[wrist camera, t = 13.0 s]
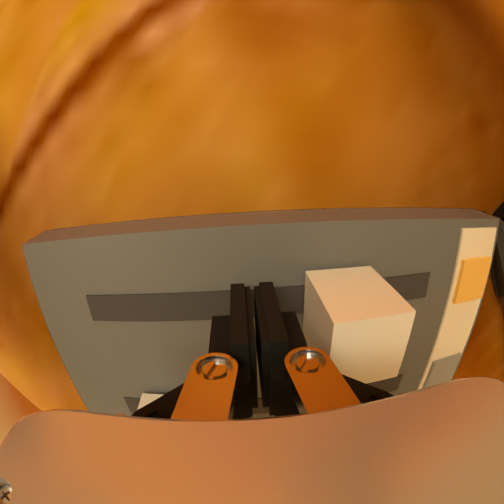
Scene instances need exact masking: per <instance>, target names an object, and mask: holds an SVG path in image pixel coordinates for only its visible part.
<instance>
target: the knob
mask: <svg viewBox="0 0 504 504" xmlns="http://www.w3.org/2000/svg"><path fill="white" fill-rule="evenodd" d="M415 314H416V310H415V309H414V308H413V307H412V306H411V305H410V304H409V303H408V302H407V301H406V300H405V299H404V298H403V297H402V296H401V295H400V294H399V293H398V292H397V291H396V290H395V289H394V288H393V287H392V286H391V285H390V284H389V283H388V282H387V281H386V280H385V279H383V278H382V277H381V276H380V275H379V274H378V273H377V272H376V271H375V270H374V269H373V268H372V267H371V266H362V267H350V268H337V269H325V270H311V271H305V294H304V317H303V332H304V335H305V338H306V341H307V343H308V346H309V347H314V348H318V349H321V350H322V351H324V352H326V353H327V354H328V355H329V357H330V358H331V360H332V361H333V363H334V364H335V366H336V367H337V368H338V370H339V371H340V373H341V374H343V375H345V376H348V377H350V378H353V379H355V380H358V381H360V382H363V383H366V384H367V383H372V382H376V381H381V380H385V379H389V378H393V377H397V375H398V372H399V369H400V366H401V363H402V360H403V357H404V354H405V350H406V347H407V344H408V340H409V337H410V333H411V329H412V326H413V322H414V318H415Z"/></svg>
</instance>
